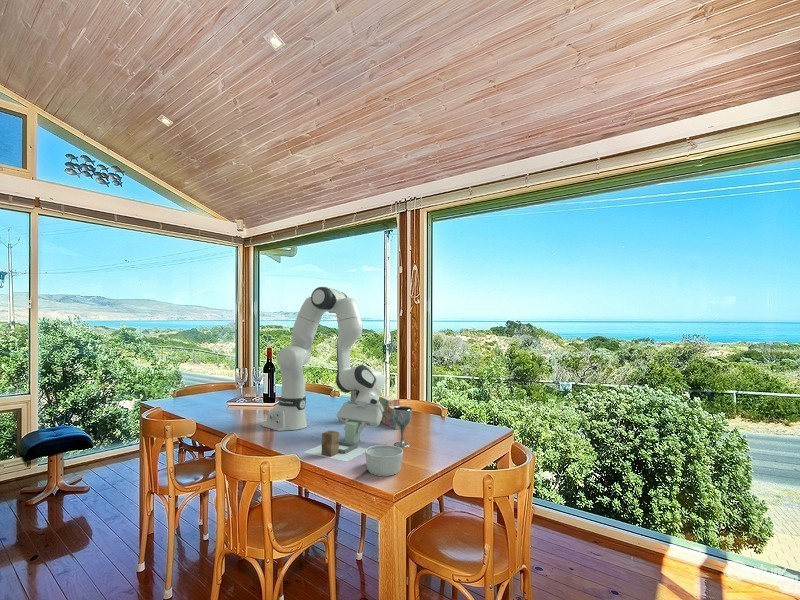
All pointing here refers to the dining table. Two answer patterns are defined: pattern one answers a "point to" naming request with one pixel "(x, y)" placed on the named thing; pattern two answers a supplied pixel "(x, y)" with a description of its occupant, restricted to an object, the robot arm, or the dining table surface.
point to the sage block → (352, 432)
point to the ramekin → (383, 459)
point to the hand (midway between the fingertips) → (351, 431)
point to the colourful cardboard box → (389, 410)
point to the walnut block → (330, 443)
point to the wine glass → (402, 421)
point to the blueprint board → (340, 451)
